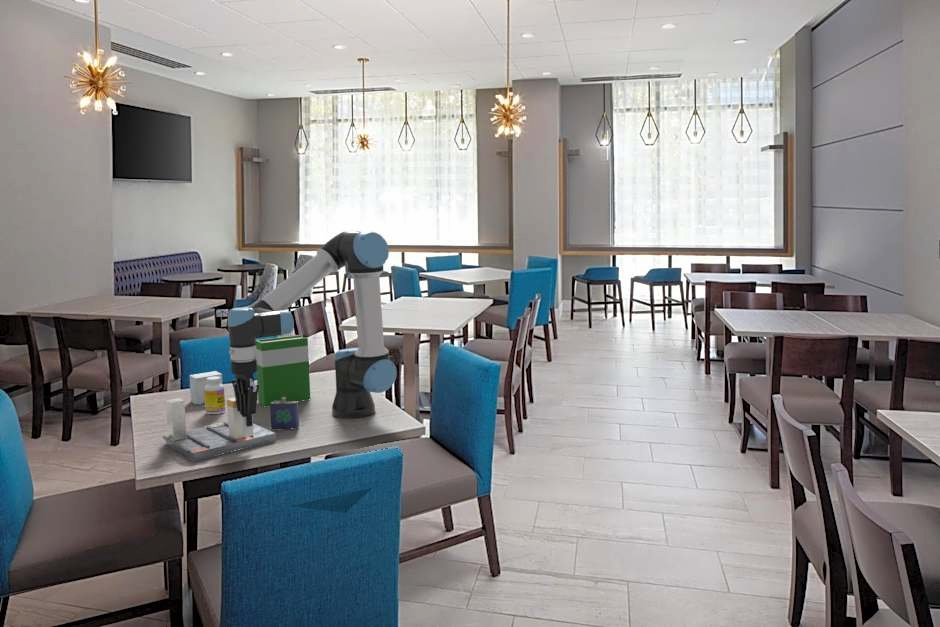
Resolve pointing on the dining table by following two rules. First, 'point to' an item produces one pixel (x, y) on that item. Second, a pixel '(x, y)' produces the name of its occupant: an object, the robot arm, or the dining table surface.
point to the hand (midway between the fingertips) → (248, 435)
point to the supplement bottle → (214, 396)
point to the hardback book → (282, 369)
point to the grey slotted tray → (206, 435)
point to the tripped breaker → (234, 419)
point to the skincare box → (200, 385)
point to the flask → (284, 414)
